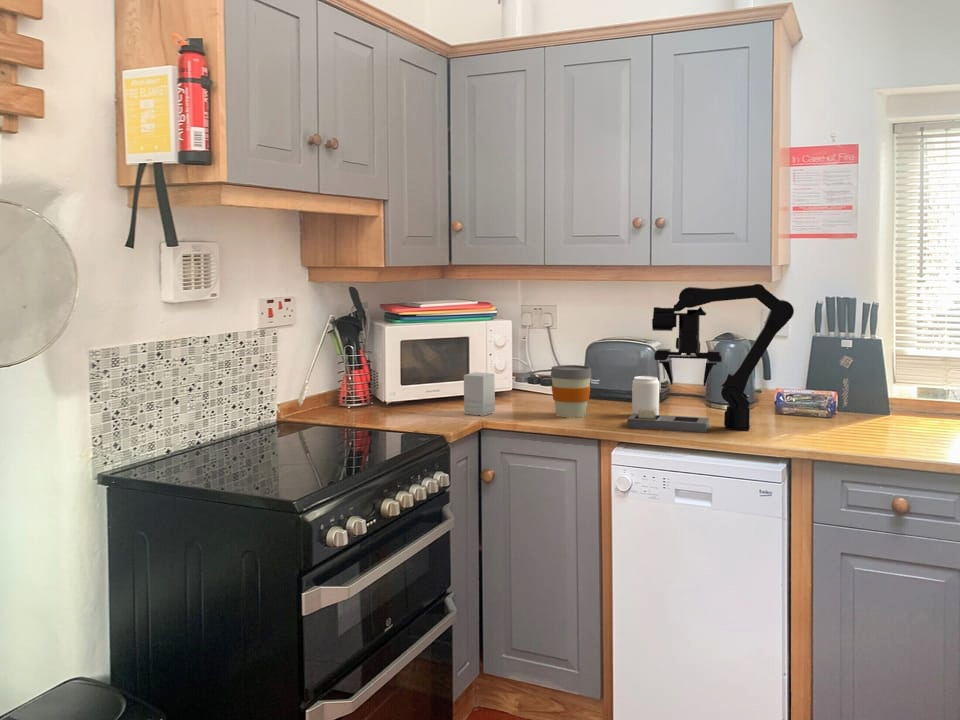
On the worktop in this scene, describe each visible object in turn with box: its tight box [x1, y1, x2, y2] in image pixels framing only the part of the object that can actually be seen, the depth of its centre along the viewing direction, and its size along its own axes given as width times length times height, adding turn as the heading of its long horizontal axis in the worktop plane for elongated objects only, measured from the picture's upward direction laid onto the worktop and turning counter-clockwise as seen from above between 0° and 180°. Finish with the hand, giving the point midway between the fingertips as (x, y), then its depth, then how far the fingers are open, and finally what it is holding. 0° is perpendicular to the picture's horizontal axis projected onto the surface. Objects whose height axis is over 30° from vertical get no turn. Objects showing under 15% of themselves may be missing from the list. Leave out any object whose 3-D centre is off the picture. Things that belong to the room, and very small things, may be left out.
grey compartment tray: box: [626, 413, 710, 433], centre depth 243 cm, size 22×9×2 cm, turn 69°
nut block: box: [638, 407, 657, 420], centre depth 244 cm, size 4×4×5 cm
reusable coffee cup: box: [550, 364, 593, 418], centre depth 261 cm, size 13×13×15 cm
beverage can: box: [631, 375, 660, 415], centre depth 259 cm, size 8×8×12 cm
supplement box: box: [463, 372, 496, 417], centre depth 265 cm, size 7×7×13 cm
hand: (688, 385), depth 243 cm, fingers open, 9 cm apart
